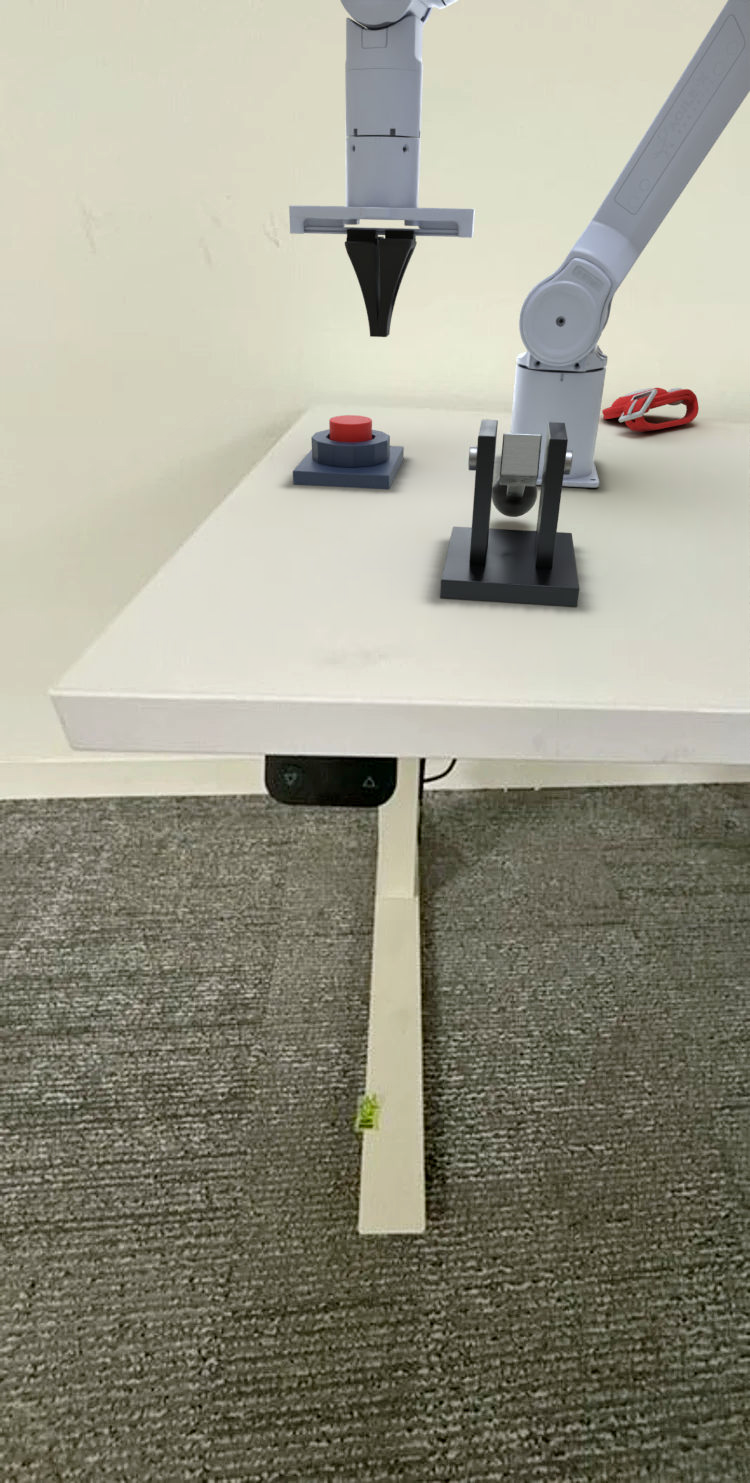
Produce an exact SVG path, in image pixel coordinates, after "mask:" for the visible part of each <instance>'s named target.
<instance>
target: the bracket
mask: <svg viewBox="0 0 750 1483" xmlns="http://www.w3.org/2000/svg"><path fill="white" fill-rule="evenodd" d="M498 424H499V421H498V420H497V419H481V420H480V426H479V431H478V435H477V445H470V446H469V453H468V464H467V465H468V468H467V469H468V471H473V472H475V475H474V490H473V504H472V516H471V517H472V520H471V527H470V526H452V529H451V533H450V538H449V543H448V547H447V552H446V556H445V560H444V565H443V568H442V574H441V577H440V590H439V598H440V599H446V600H457V601H458V600H461V601H474V602H475V601H477V602H490V603H491V602H492V603H505V604H521V605H523V604H524V605H535V606H536V605H537V606H551V607H552V606H553V607H568V608H578V603H579V596H580V582H579V575H578V567H577V560H576V554H575V546H574V538H573V533H572V532H563V531H558V530H557V529H558V526H559V524H558V523H559V516H560V508H561V500H562V491H563V486H562V484H563V476H564V475H570V473H571V467H572V458H573V451H572V450H567V443H568V438H567V433H566V427H565V423H557V422H548V428H547V437H546V446H545V455H544V465H543V474H542V483H541V485H540V492H539V500H538V501H539V503H538V511H537V520H536V529H535V530H525V529H524V530H523V529H509V528H507V529H505V528H490V524H491V510H492V502H493V501H492V488H493V485H494V477H495V476H494V474H495V461H496V451H497V450H496V448H497V437H498Z"/></svg>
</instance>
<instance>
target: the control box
mask: <svg viewBox="0 0 750 1483" xmlns="http://www.w3.org/2000/svg"><path fill="white" fill-rule="evenodd" d="M310 438H311V449H310V451H309V452H308V453H306V455H305V456H304V457H303V459H302V460H301V461H300V462H299V463H298V464H297V465H296V467H295V468H294V469H293V471H292V485H293V486H312V487H313V486H314V487H330V488H331V487H333V488H354V489H372V490H390V488H391V487H392V484H393V482H394V480H395V478H396V476H397V473H398V471H399V469H400V467H401V465H402V464H403V461H404V453H405V452H404V451H405V450H404V449H405V448H404V446H400V445H391V435H389V434H387V433H386V432H384V431H382V430H377V429H372V440H369V441H364V442H338V441H333V440H330V428H329V429H325V430H320V431H316V432H315V433H314V434H313V435H312V436H311V437H310Z"/></svg>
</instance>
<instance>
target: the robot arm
mask: <svg viewBox="0 0 750 1483" xmlns="http://www.w3.org/2000/svg"><path fill="white" fill-rule="evenodd" d="M458 1H459V0H339V2H340V3H341V5H342V7H343V8H344V10H345V11H346V12H347V13H348V15H349V16H350V17H351V18H350V17H346V19H345V39H346V40H345V63H344V76H345V77H344V79H345V80H344V85H345V87H344V88H345V89H344V93H345V94H344V95H345V98H344V100H345V101H344V106H345V108H344V110H345V111H344V112H345V116H344V117H345V118H344V121H345V124H344V125H345V126H344V128H345V130H344V132H345V133H344V134H345V135H344V137H345V205H298V204H297V205H295V204H294V205H293V204H292V205H291V204H289V206H288V211H289V212H288V213H289V233H290V235H291V234H292V235H293V234H294V235H296V234H297V235H303V234H314V235H315V234H317V235H318V234H321V235H346V238H345V239H346V241H344V248H345V250H346V253H347V254H346V255H347V256H348V258H349V260H350V263H351V266H352V268H353V271H354V273H355V276H356V279H357V282H358V284H359V288H360V290H361V294H362V297H363V302H364V305H365V311H366V315H367V321H368V329H369V337H370V338H371V337H372V338H373V337H374V338H387V337H388V336H389V335H390V334H391V333H390V332H391V323H392V319H393V318H392V317H393V314H394V308H395V305H396V300H397V296H398V294H399V290H400V288H401V284H402V282H403V279H404V276H405V273H406V270H407V268H408V266H409V263H410V261H411V259H412V256H413V254H414V252H415V249H416V247H417V244H418V243H417V237H449V238H451V237H452V238H454V237H455V238H464V239H465V238H466V239H467V238H468V239H470V238H471V239H473V237H474V230H475V218H476V217H475V216H476V214H475V213H476V209H475V208H455V207H454V208H453V207H451V208H449V207H419V199H420V198H419V195H420V171H421V170H420V169H421V168H420V167H421V144H422V143H421V140H422V139H421V138H422V114H423V113H422V110H423V80H424V63H423V41H424V40H423V39H424V26H425V24H426V22H428V20H429V18H430V16H431V14H432V12H433V8H437V9H438V10H443V9H445V8H447V7H449V6H450V5H453V4H454V3H457V2H458ZM749 93H750V0H727V1H726V3H725V5H724V6H723V8H722V9H721V11H720V13H719V14H718V16H717V17H716V19H715V21H714V22H713V24H712V25H711V27H710V28H709V30H708V32H707V33H706V35H705V37H703V40H702V41H701V43H700V45H699V46H698V48H697V49H696V51H695V53H694V55H693V56H692V57H691V59H690V61H689V62H688V64H687V66H686V67H685V69H684V71H683V72H682V74H681V75H680V77H679V79H678V80H677V82H676V83H675V84H674V86H673V88H672V90H671V92H670V93H669V95H668V96H667V98H666V99H665V101H664V103H663V104H662V106H661V107H660V109H659V110H658V112H657V113H656V116H655V117H654V118H653V121H651V124H650V125H649V127H648V128H647V130H646V132H645V133H644V135H643V136H642V138H641V140H640V141H639V143H638V144H637V145H636V148H635V149H634V151H633V152H632V154H631V156H630V158H629V159H628V160H627V162H626V164H625V165H624V167H623V169H622V170H621V171H620V173H619V175H618V176H617V178H616V179H615V182H614V183H613V184H612V186H611V188H610V189H609V191H608V192H607V194H606V196H605V197H604V198H603V201H602V202H601V204H600V206H599V207H598V209H597V210H596V212H595V214H594V215H593V217H592V218H591V220H590V222H589V223H588V224H587V226H586V227H585V229H584V230H583V232H582V233H581V234H580V236H579V238H578V239H577V240H576V241H575V243H574V245H573V246H572V247H571V249H570V250H569V252H568V253H567V256H566V257H565V259H564V260H563V262H562V263H561V264H560V265H559V267H558V268H557V269H556V270H555V271H554V272H552V273H551V274H550V275H548V276H547V277H545V278H543V279H542V280H540V281H539V282H538V283H537V284H536V285H535V286H533V287H532V289H531V290H530V291H529V292H528V294H527V295H526V297H525V299H524V301H523V303H522V305H521V309H520V311H519V312H520V313H519V317H518V318H519V319H518V329H519V330H518V331H519V334H520V335H519V336H520V339H521V341H522V344H523V346H524V347H525V349H526V351H525V352H522V353H519V354H517V355H516V364H515V374H514V386H513V397H512V409H511V419H510V432H509V433H515V434H539V435H542V439H541V450H540V461H539V473H538V478H537V482H536V486H541V483H542V474H543V465H544V455H545V446H546V437H547V428H548V422H557V423H565V427H566V433H567V438H568V443H567V450H572V451H573V458H572V467H571V473H570V475H564V476H563V484H562V487H571V488H572V487H573V488H599V487H600V479H599V474H598V470H597V468H596V463H595V460H594V458H595V450H596V444H597V438H598V437H597V436H598V430H599V422H600V416H601V408H602V402H603V401H602V400H603V395H604V387H605V381H606V380H605V379H606V371H607V365H608V356H607V354H605V353H604V352H603V350H602V348H600V345H599V344H598V342H599V341H600V338H601V336H602V333H603V331H604V330H605V328H606V326H607V324H608V322H609V318H610V315H611V308H612V304H613V303H612V302H613V299H614V296H615V294H616V292H617V291H618V290H619V287H621V285H622V283H623V282H624V280H625V279H626V278H627V276H628V274H629V273H630V271H631V270H632V268H633V267H634V265H635V263H636V262H637V260H638V259H639V258H640V256H641V254H642V253H643V252H644V250H645V248H646V247H647V245H649V243H650V241H651V239H652V238H653V237H654V235H655V234H656V232H657V231H658V229H659V227H661V225H662V223H663V221H665V219H666V217H667V216H668V214H669V213H670V211H671V210H672V208H673V207H674V205H675V204H676V203H677V201H678V199H679V198H680V197H681V195H682V193H683V192H684V191H685V189H686V187H687V185H688V184H689V183H690V181H691V180H692V178H693V177H694V175H695V174H696V173H697V171H698V169H699V168H700V166H701V165H702V163H703V162H704V161H705V159H706V157H707V156H708V155H709V153H710V151H711V150H712V149H713V147H714V146H715V143H716V142H717V141H718V140H719V138H720V136H721V135H722V134H723V132H724V131H725V129H726V127H728V125H729V123H730V121H731V120H732V118H733V117H734V115H735V114H736V113H737V111H738V109H739V108H740V107H741V105H742V103H743V102H744V100H745V99H746V98H747V96H748V94H749ZM360 220H369V221H370V220H372V221H373V220H374V221H403V222H404V227H367V226H366V227H363V226H360V227H359V226H358V225H360V224H361V222H360ZM347 225H349V226H347ZM350 225H352V226H350ZM353 225H355V226H353ZM356 225H357V226H356ZM407 227H408V228H407ZM409 227H410V228H409ZM411 227H418V228H411Z"/></svg>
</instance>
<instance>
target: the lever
mask: <svg viewBox="0 0 750 1483" xmlns="http://www.w3.org/2000/svg"><path fill="white" fill-rule="evenodd" d="M541 439H542V435H539V434H515V433H510V432H504V433H503V435H502V447H501V458H500V466H499V467H500V469H499V476H498V477H497V479H496V480H495V481H494V482H493V488H492V501H491V502H492V503H493V506H494V508H495V509H496V510H497V512H498V513H500V514H502V515H504V516H505V517H510V518H518V517H521V516H523V515H525V514H527V513H529V512H530V511H531V510H532V509H533V507H534V506H535V504H536V501H537V499H538V485H536V482H537V478H538V473H539V461H540V450H541Z"/></svg>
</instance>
